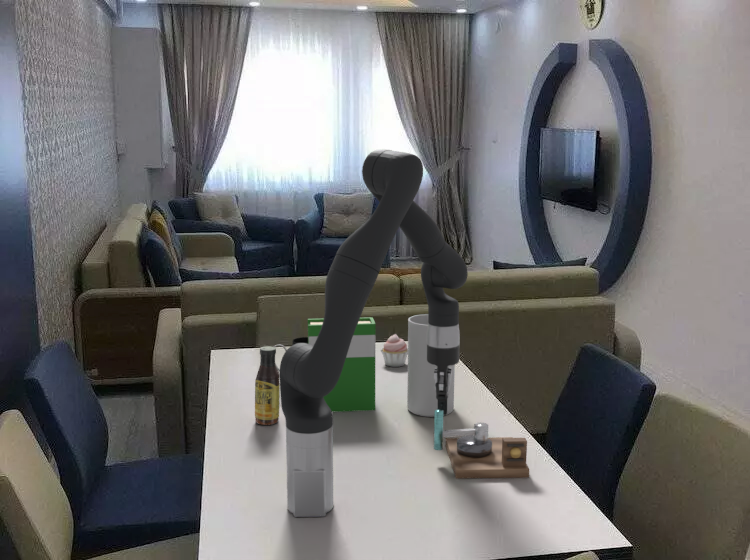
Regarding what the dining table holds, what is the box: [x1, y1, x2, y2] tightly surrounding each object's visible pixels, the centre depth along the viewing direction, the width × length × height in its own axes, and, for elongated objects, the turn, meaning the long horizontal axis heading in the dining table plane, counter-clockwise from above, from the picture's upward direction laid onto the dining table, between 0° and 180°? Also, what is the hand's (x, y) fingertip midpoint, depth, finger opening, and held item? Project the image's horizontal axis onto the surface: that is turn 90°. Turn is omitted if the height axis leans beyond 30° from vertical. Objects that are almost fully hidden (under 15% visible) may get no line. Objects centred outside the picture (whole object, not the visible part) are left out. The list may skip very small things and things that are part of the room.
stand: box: [445, 436, 530, 480], centre depth 181 cm, size 18×16×8 cm
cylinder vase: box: [406, 313, 456, 418], centre depth 213 cm, size 12×12×25 cm
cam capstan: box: [433, 409, 492, 457], centre depth 181 cm, size 14×8×10 cm, turn 100°
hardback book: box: [307, 316, 377, 413], centre depth 215 cm, size 18×7×24 cm, turn 96°
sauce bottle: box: [254, 345, 281, 426], centre depth 204 cm, size 7×6×20 cm
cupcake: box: [380, 333, 408, 368], centre depth 255 cm, size 9×9×10 cm
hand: (442, 413), depth 187 cm, fingers closed
